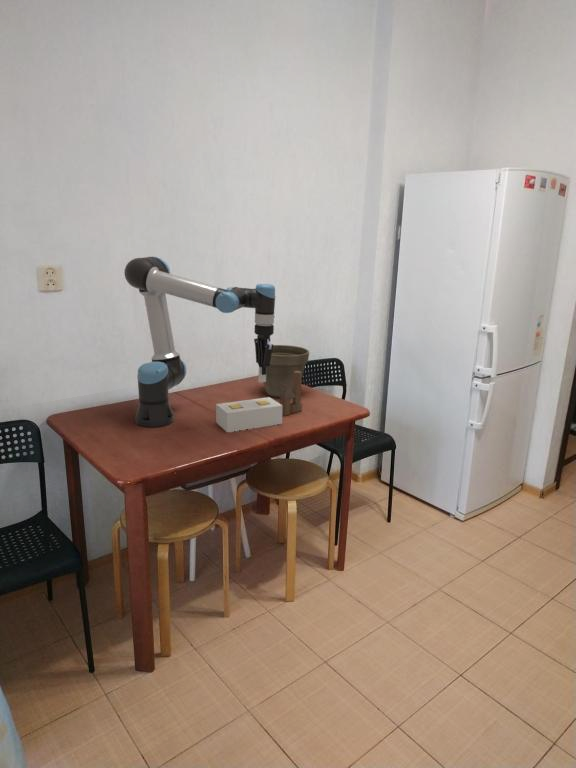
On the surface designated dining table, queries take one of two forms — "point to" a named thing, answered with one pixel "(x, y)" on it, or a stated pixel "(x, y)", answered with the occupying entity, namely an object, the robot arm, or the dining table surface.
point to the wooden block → (291, 395)
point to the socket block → (248, 414)
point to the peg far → (262, 403)
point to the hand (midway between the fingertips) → (262, 381)
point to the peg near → (235, 406)
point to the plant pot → (284, 367)
